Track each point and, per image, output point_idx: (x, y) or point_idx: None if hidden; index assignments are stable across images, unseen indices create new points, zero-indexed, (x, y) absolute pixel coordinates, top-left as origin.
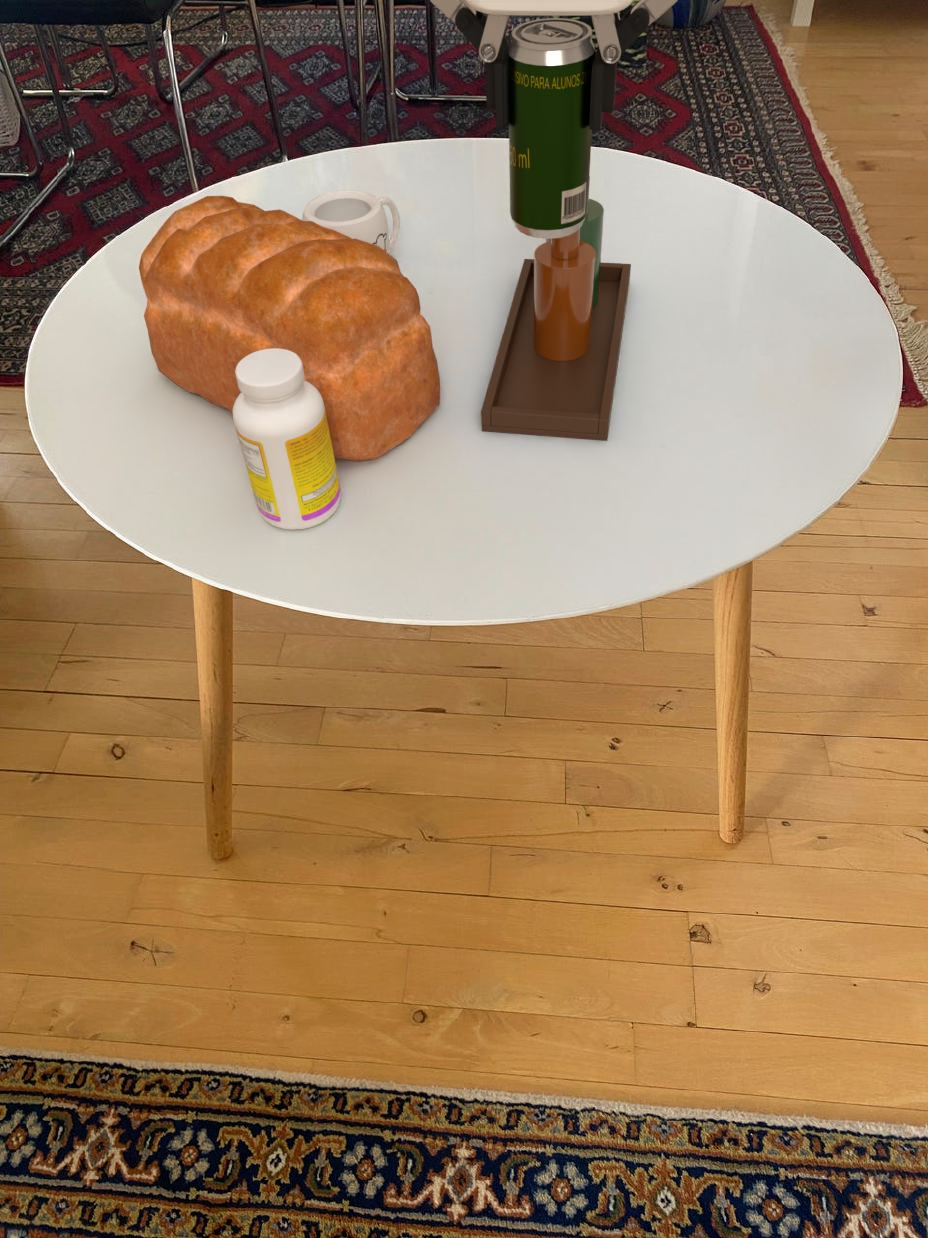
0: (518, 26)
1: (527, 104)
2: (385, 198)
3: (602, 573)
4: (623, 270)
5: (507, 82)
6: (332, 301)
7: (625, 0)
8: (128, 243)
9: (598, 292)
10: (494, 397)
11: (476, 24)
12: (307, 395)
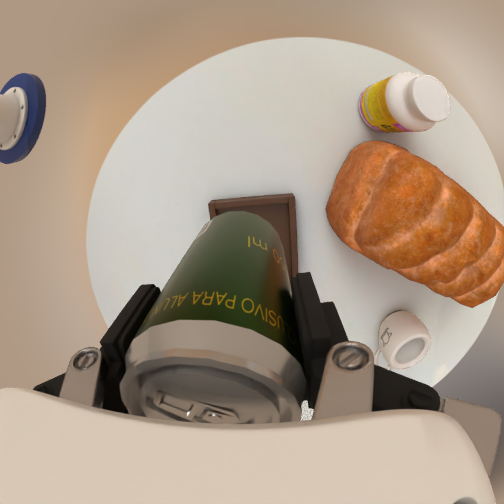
0: None
1: (247, 279)
2: None
3: (190, 87)
4: None
5: (299, 327)
6: (419, 181)
7: None
8: (484, 320)
9: None
10: (289, 213)
11: (391, 403)
12: (401, 99)
